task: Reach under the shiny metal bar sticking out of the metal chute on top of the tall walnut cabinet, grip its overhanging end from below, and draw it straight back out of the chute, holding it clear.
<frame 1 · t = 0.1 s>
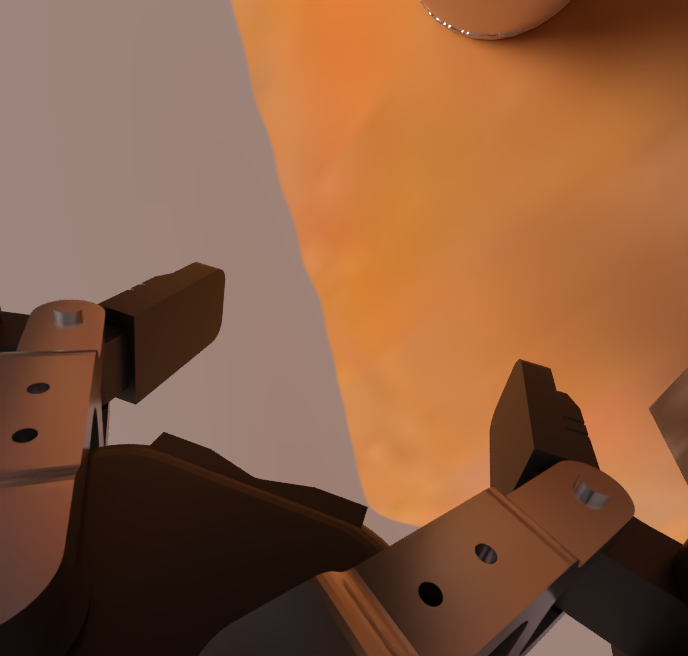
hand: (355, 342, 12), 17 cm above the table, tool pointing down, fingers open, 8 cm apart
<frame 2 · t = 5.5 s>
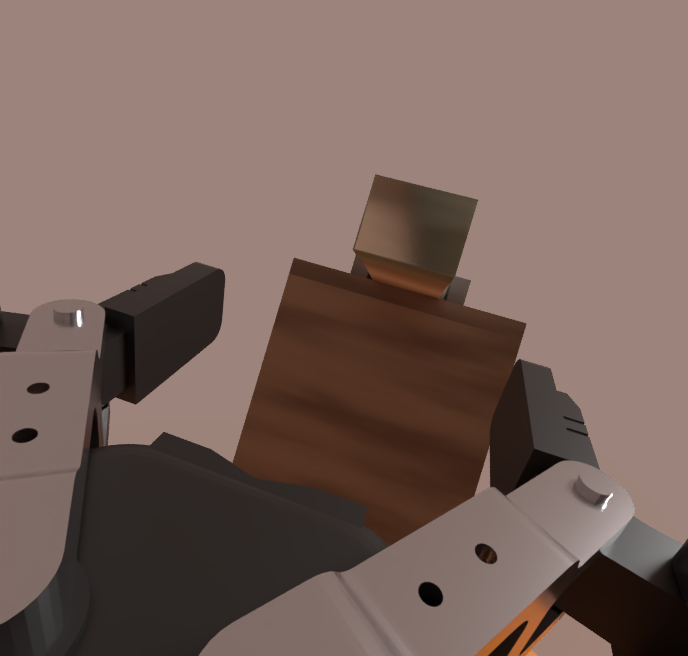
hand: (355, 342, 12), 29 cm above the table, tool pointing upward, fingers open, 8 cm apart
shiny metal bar: (406, 294, 30), point 32 cm above the table, touching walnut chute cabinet
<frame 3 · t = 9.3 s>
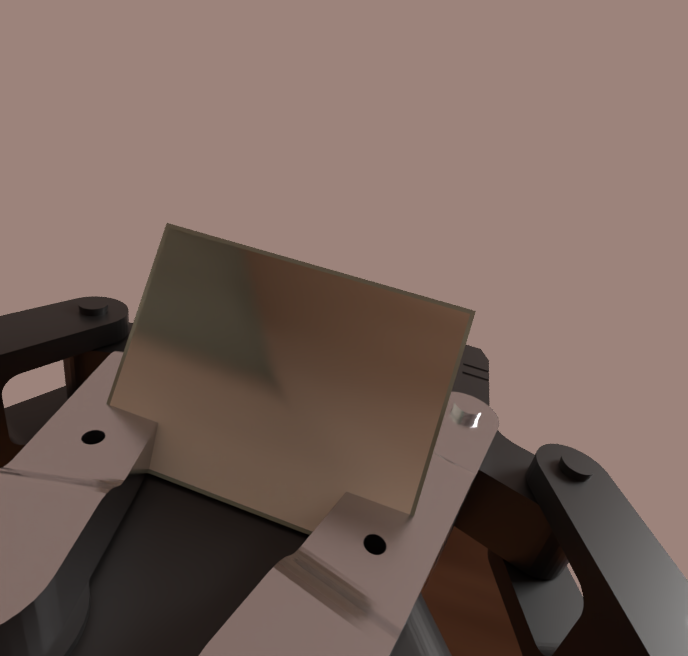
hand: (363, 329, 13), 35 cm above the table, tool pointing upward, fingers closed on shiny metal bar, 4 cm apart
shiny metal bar: (353, 412, 17), point 32 cm above the table, touching gripper, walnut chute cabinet
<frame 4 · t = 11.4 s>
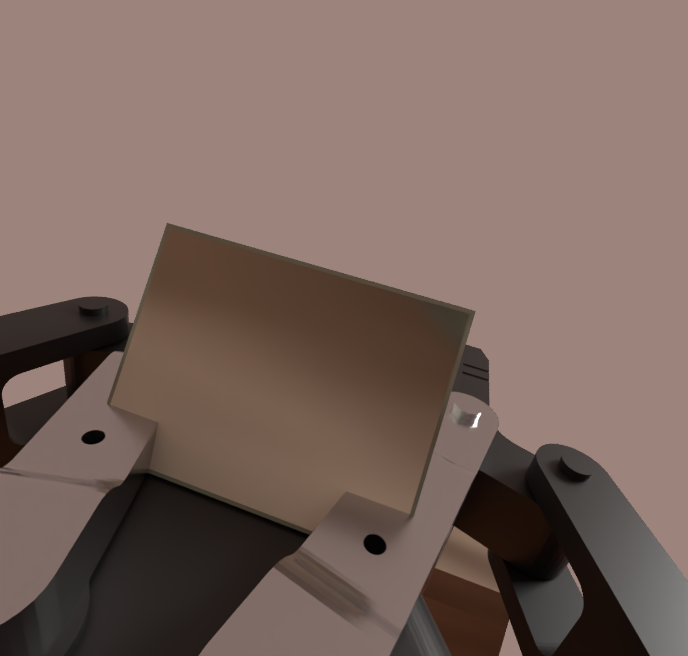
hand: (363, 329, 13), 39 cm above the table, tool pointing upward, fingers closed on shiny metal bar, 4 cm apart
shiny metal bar: (353, 412, 17), point 36 cm above the table, touching gripper
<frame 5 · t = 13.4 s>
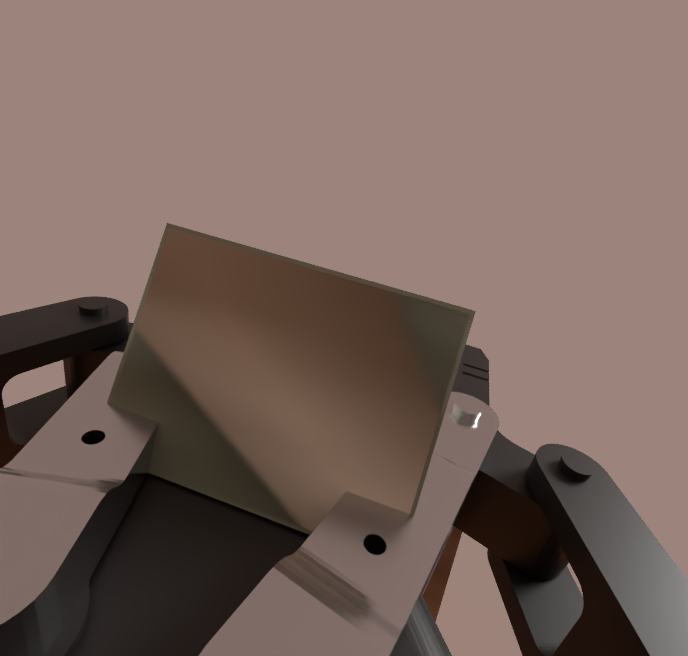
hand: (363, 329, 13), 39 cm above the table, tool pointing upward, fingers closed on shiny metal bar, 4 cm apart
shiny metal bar: (353, 412, 17), point 36 cm above the table, touching gripper
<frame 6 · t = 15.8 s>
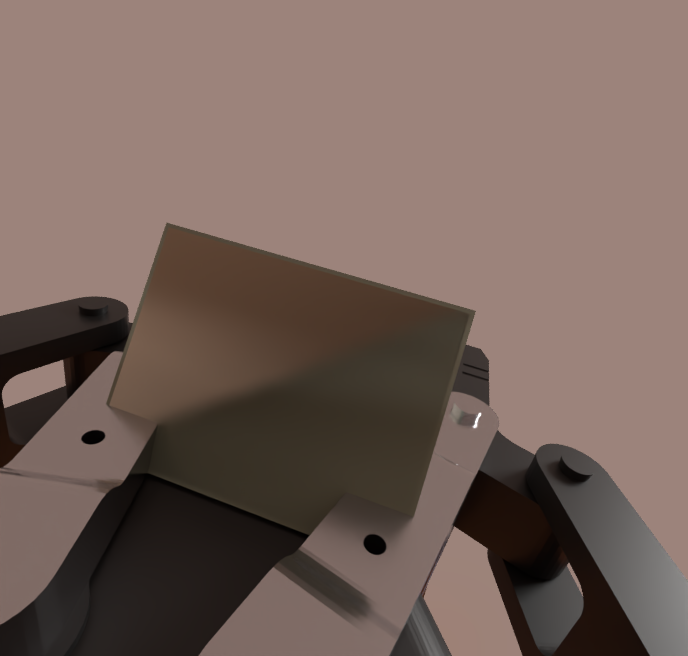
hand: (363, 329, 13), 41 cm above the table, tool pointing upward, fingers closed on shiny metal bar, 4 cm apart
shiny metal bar: (353, 412, 17), point 38 cm above the table, touching gripper
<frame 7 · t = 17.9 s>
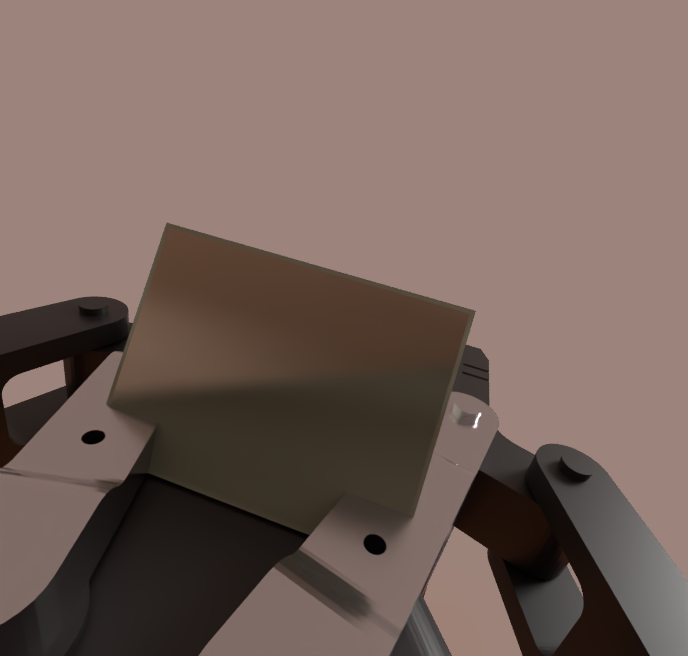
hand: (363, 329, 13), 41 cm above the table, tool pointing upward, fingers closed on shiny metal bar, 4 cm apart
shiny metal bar: (353, 412, 17), point 38 cm above the table, touching gripper
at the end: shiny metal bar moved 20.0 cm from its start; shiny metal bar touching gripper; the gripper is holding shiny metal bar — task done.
